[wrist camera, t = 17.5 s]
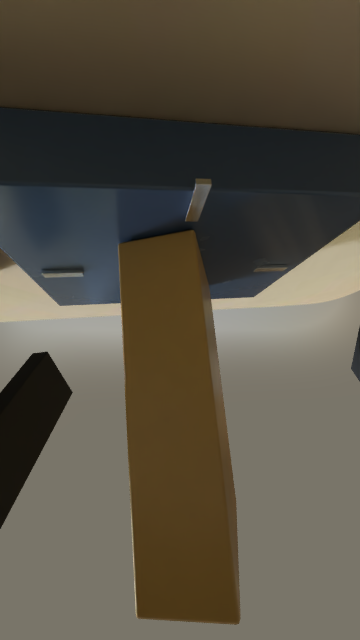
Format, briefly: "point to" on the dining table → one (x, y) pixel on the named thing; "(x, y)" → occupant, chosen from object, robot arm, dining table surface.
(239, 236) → the blue base
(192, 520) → the red-tipped wooden block
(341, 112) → the dining table surface
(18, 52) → the dining table surface
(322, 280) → the dining table surface
